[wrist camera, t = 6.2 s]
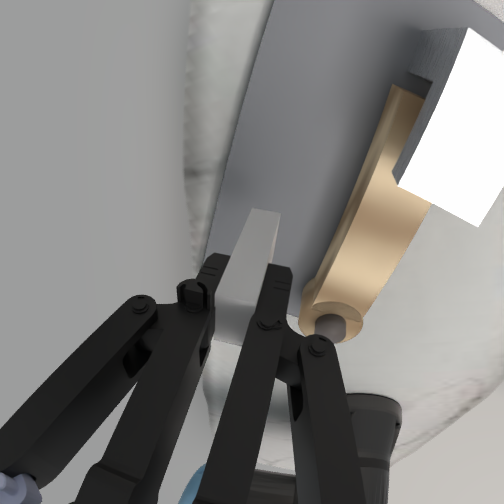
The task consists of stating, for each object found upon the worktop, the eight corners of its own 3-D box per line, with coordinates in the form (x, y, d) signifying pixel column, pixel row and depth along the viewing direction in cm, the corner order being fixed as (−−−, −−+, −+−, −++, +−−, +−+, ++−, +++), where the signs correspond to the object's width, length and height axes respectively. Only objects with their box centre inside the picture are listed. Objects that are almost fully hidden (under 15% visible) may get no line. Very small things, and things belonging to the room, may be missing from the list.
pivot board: (342, 321, 29) (342, 331, 28) (202, 274, 29) (198, 283, 28) (502, 28, 11) (511, 28, 10) (301, -68, 11) (300, -74, 10)
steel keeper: (435, 166, 19) (477, 227, 13) (373, 135, 19) (397, 185, 13) (480, 69, 14) (547, 92, 8) (417, 30, 14) (468, 27, 8)
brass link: (347, 322, 27) (346, 358, 24) (294, 307, 27) (288, 344, 24) (456, 114, 15) (483, 132, 12) (384, 80, 15) (399, 90, 12)
